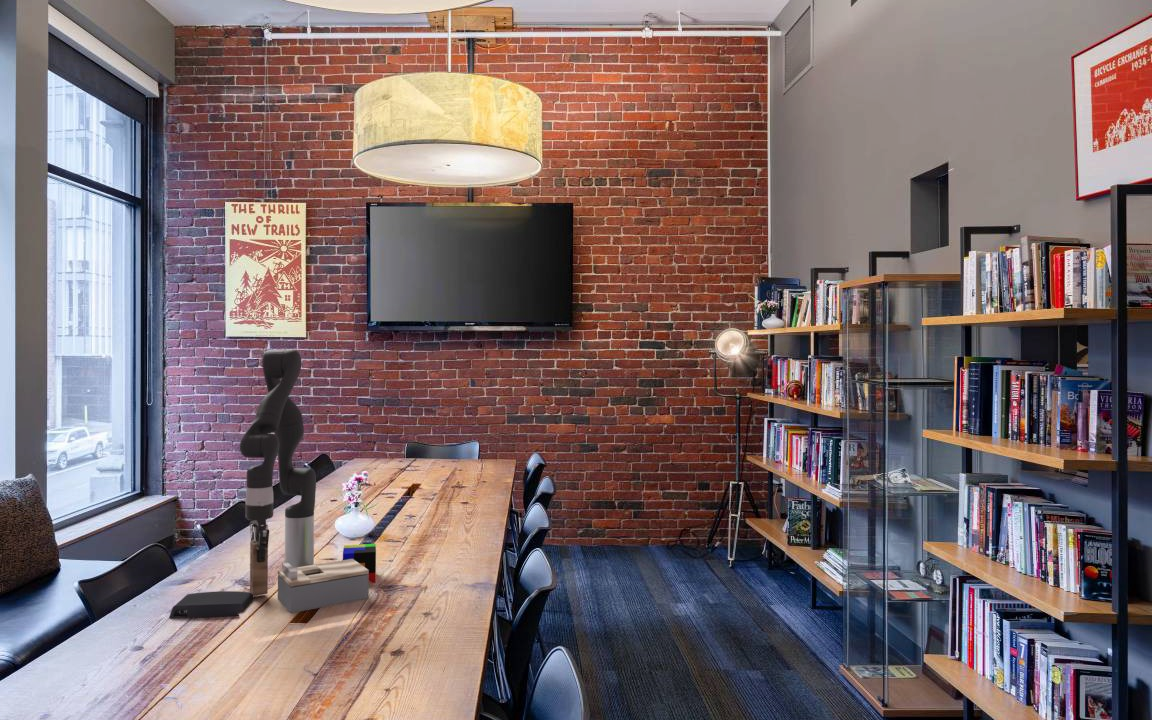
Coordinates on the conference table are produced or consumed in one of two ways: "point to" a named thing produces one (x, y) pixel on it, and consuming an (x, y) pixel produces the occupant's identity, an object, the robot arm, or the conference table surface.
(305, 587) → the toolbox
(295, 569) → the lid
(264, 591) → the brown block
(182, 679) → the conference table surface
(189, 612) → the external hard drive
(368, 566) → the puzzle toy
